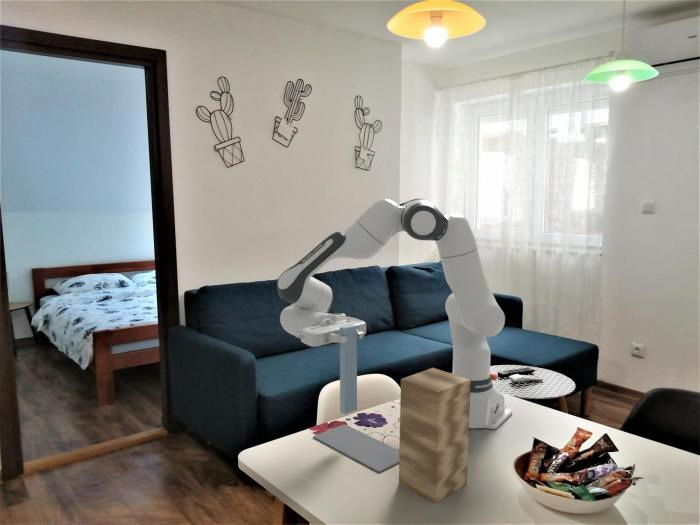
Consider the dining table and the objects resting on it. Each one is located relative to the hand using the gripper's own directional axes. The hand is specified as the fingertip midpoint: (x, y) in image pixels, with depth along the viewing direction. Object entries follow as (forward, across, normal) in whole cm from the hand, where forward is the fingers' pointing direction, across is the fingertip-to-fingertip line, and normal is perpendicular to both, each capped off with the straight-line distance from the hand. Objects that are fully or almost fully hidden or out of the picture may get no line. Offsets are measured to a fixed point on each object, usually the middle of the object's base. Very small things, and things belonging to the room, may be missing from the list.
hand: (353, 337), depth 146 cm
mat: (+3, 0, +30) cm, 30 cm away
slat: (-3, 0, +9) cm, 10 cm away
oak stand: (+28, 0, +30) cm, 41 cm away
